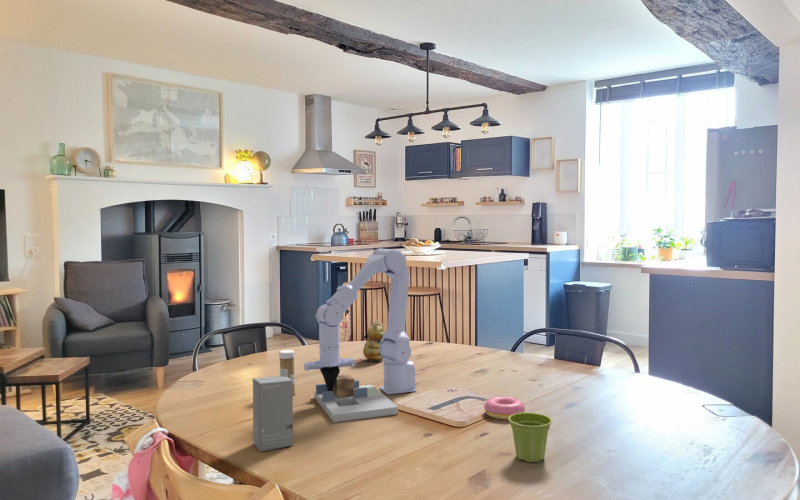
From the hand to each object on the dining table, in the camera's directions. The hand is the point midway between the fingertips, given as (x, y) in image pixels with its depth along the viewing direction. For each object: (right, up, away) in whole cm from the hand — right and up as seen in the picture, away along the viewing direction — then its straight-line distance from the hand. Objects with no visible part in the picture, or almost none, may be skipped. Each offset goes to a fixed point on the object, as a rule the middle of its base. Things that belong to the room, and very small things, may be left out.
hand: (330, 392), depth 176 cm
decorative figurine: (+11, 0, +53) cm, 54 cm away
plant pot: (+49, -5, -42) cm, 65 cm away
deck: (+7, -3, -3) cm, 8 cm away
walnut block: (+4, -1, +1) cm, 4 cm away
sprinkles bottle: (-14, -3, +9) cm, 17 cm away
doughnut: (+48, -3, -12) cm, 50 cm away
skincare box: (-10, -5, -32) cm, 34 cm away
